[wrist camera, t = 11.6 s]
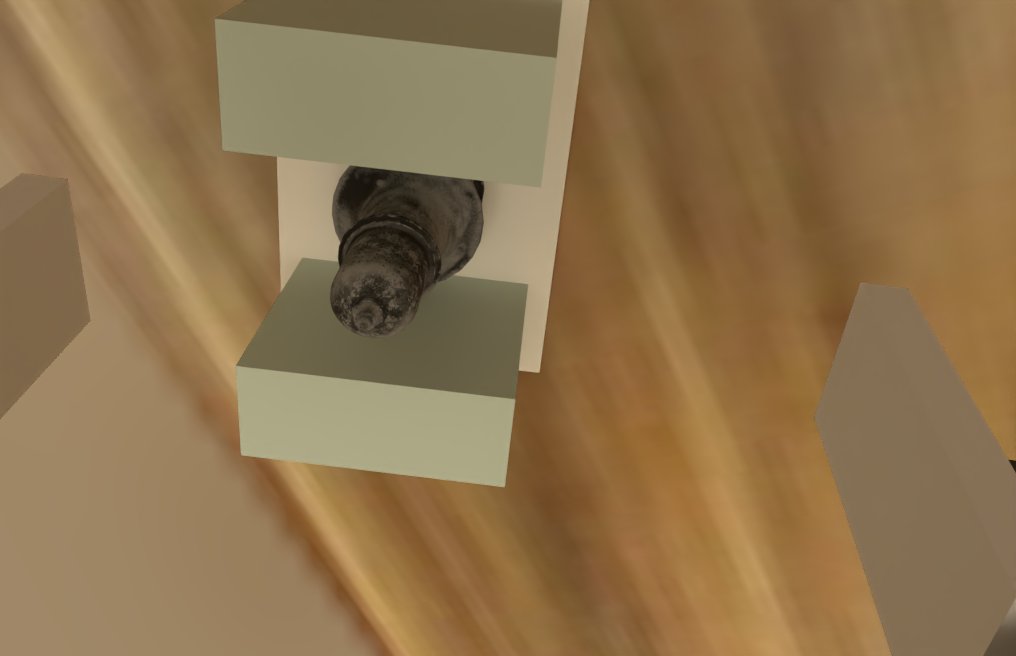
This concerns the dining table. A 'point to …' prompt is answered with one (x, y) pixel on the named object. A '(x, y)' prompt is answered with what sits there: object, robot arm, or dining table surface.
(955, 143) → the dining table surface
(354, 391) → the cream plate with blocks
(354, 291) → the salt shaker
